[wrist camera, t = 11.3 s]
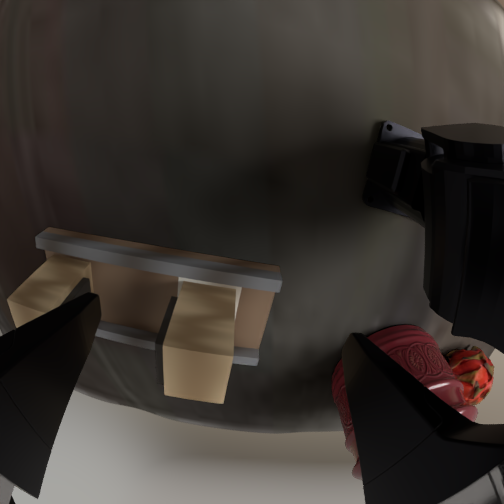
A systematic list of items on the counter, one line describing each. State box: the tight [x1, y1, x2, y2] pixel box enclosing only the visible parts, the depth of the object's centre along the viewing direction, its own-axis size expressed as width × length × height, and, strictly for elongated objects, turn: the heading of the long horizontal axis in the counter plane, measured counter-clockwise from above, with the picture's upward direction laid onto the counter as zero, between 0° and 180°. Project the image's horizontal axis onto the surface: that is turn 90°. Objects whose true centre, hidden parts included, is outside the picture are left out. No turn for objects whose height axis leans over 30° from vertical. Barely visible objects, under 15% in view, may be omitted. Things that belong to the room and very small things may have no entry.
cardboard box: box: [155, 281, 236, 404], centre depth 19 cm, size 5×5×7 cm
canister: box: [332, 325, 478, 480], centre depth 20 cm, size 13×13×18 cm
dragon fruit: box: [444, 346, 494, 405], centre depth 26 cm, size 8×8×12 cm
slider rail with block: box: [7, 227, 282, 366], centre depth 19 cm, size 20×9×8 cm, turn 79°
